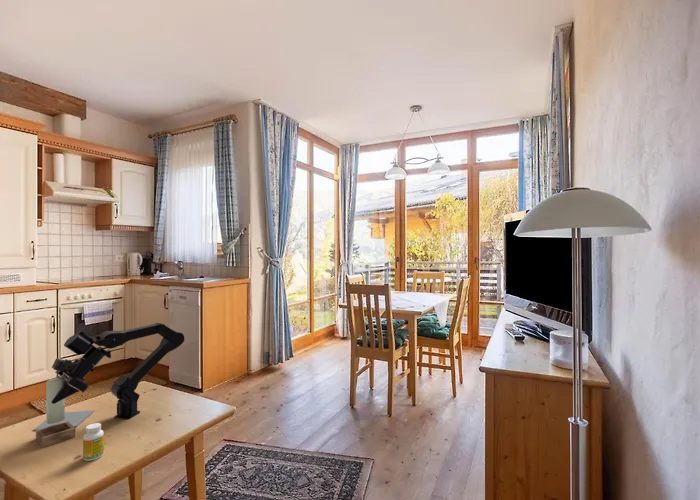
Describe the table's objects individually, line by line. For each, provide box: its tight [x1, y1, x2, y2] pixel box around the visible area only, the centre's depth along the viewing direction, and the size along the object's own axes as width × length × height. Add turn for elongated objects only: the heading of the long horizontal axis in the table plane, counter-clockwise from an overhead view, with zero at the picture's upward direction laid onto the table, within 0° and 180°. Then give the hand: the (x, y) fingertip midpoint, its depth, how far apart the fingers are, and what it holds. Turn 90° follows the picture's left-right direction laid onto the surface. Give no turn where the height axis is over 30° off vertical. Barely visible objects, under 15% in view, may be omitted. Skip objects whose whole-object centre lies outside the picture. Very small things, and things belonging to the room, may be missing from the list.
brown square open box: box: [35, 421, 76, 448], centre depth 130 cm, size 9×9×3 cm
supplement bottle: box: [82, 422, 105, 462], centre depth 118 cm, size 5×5×10 cm
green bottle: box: [45, 377, 66, 424], centre depth 130 cm, size 5×5×14 cm
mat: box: [32, 409, 95, 432], centre depth 143 cm, size 14×14×1 cm
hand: (50, 401), depth 129 cm, fingers closed on green bottle, 5 cm apart
